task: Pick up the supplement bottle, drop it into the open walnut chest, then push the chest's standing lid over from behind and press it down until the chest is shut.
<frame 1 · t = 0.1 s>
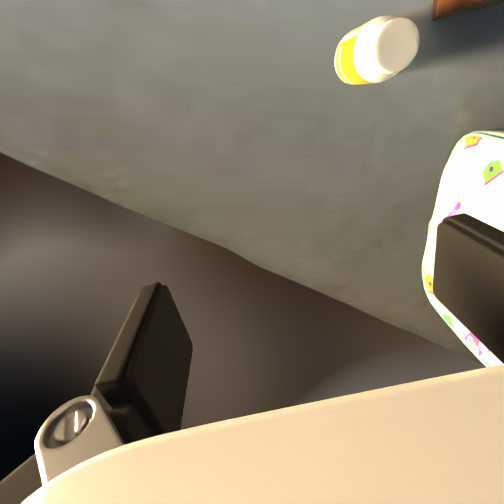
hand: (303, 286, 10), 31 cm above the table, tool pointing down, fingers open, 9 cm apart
supplement bottle: (355, 58, 34), on the table
lunch box: (456, 219, 44), on the table
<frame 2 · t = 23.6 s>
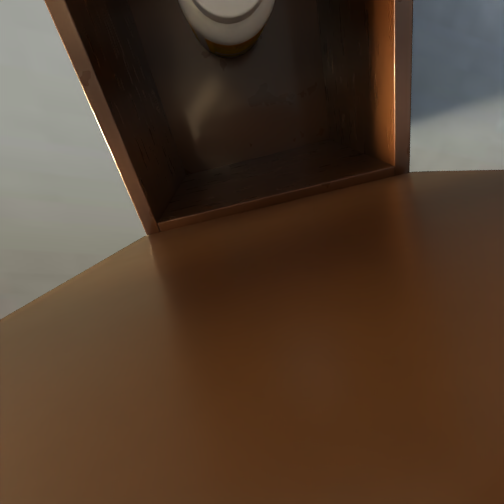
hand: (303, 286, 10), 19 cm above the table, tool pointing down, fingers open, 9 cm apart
supplement bottle: (227, 15, 21), point 1 cm above the table, touching chest
chest: (235, 59, 23), on the table
lid: (309, 254, 7), point 21 cm above the table, hinge at 76.8°, touching gripper
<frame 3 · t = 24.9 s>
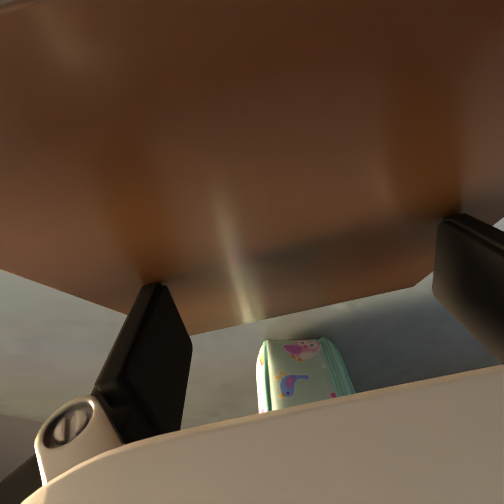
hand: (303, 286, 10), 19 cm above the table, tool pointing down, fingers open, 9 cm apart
lid: (295, 254, 11), point 18 cm above the table, hinge at 38.6°
lunch box: (293, 392, 42), on the table
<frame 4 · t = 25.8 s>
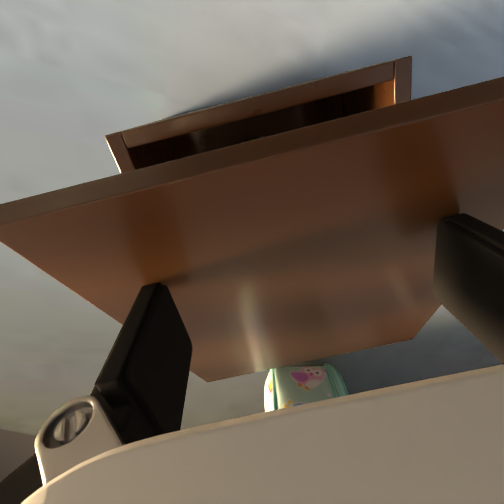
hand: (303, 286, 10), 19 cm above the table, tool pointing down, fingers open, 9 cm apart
chest: (264, 193, 28), on the table
lid: (301, 303, 14), point 17 cm above the table, hinge at 26.8°, touching gripper
lunch box: (298, 411, 44), on the table
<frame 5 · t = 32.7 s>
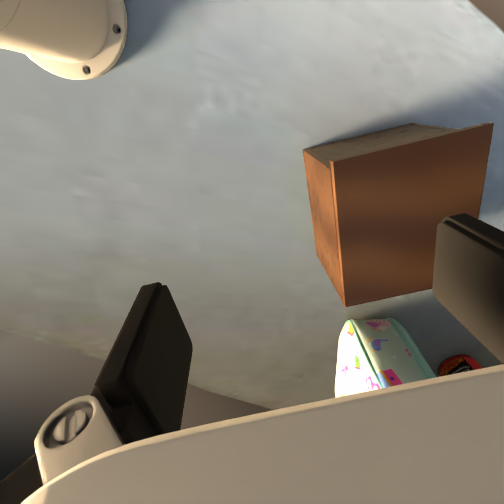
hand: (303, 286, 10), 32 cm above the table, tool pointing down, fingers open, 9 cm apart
chest: (359, 195, 43), on the table
lid: (406, 227, 31), point 13 cm above the table, hinge at 1.1°
lunch box: (358, 359, 59), on the table
canned food: (455, 366, 61), on the table
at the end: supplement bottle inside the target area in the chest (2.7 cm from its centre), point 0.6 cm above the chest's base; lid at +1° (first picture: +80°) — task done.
